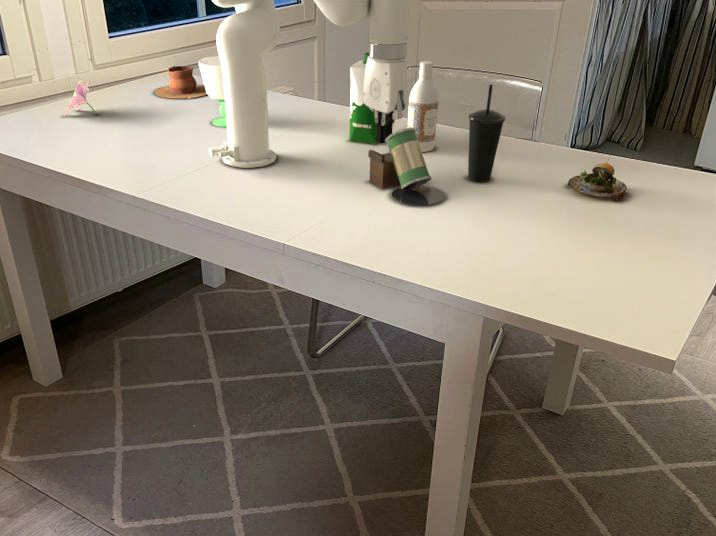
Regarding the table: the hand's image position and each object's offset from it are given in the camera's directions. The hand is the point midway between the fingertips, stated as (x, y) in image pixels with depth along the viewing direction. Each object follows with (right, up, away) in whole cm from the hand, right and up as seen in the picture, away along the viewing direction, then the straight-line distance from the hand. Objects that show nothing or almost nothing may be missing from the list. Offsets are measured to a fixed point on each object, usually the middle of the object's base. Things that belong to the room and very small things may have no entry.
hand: (383, 141), depth 154 cm
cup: (-39, +18, +40) cm, 59 cm away
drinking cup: (+21, -7, +4) cm, 23 cm away
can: (+5, -6, -6) cm, 9 cm away
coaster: (+7, -13, -5) cm, 15 cm away
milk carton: (-2, +9, +28) cm, 29 cm away
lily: (-81, +22, +47) cm, 97 cm away
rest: (+2, -8, +2) cm, 9 cm away
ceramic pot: (-57, +36, +68) cm, 96 cm away
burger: (+45, -12, -3) cm, 47 cm away
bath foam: (+11, +5, +22) cm, 25 cm away
